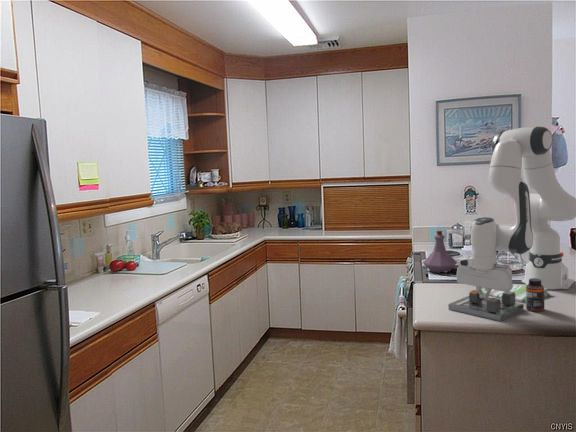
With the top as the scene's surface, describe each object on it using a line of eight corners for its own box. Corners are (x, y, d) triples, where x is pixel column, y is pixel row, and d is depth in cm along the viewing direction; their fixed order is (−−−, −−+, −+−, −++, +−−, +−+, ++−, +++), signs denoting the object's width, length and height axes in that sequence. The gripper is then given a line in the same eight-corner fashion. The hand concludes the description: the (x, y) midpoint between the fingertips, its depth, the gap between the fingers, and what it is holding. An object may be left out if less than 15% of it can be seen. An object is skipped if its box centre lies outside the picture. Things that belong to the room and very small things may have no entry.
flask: (456, 267, 245) (455, 228, 243) (459, 275, 229) (458, 233, 227) (422, 267, 249) (421, 228, 247) (423, 274, 234) (422, 234, 231)
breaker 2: (507, 301, 179) (507, 290, 179) (515, 302, 177) (515, 292, 176) (502, 303, 177) (502, 293, 176) (510, 305, 174) (510, 294, 174)
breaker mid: (474, 299, 183) (474, 289, 183) (482, 301, 181) (482, 290, 181) (469, 301, 181) (469, 291, 180) (476, 303, 179) (476, 292, 178)
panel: (472, 299, 191) (472, 293, 191) (523, 309, 176) (523, 303, 176) (448, 309, 181) (448, 303, 180) (500, 321, 165) (500, 315, 165)
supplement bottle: (538, 306, 178) (538, 276, 177) (547, 311, 172) (548, 280, 171) (522, 307, 178) (522, 277, 177) (531, 312, 172) (531, 281, 171)
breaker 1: (492, 308, 172) (492, 297, 172) (500, 309, 170) (500, 298, 170) (486, 310, 170) (486, 299, 169) (494, 312, 168) (494, 301, 167)
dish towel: (528, 305, 182) (528, 296, 181) (473, 293, 200) (472, 285, 200) (550, 296, 192) (550, 287, 192) (495, 285, 210) (495, 277, 210)
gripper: (516, 264, 171) (515, 302, 172) (463, 257, 186) (463, 292, 188) (507, 267, 167) (507, 306, 168) (454, 260, 182) (454, 295, 184)
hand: (483, 298), depth 178 cm, fingers closed
